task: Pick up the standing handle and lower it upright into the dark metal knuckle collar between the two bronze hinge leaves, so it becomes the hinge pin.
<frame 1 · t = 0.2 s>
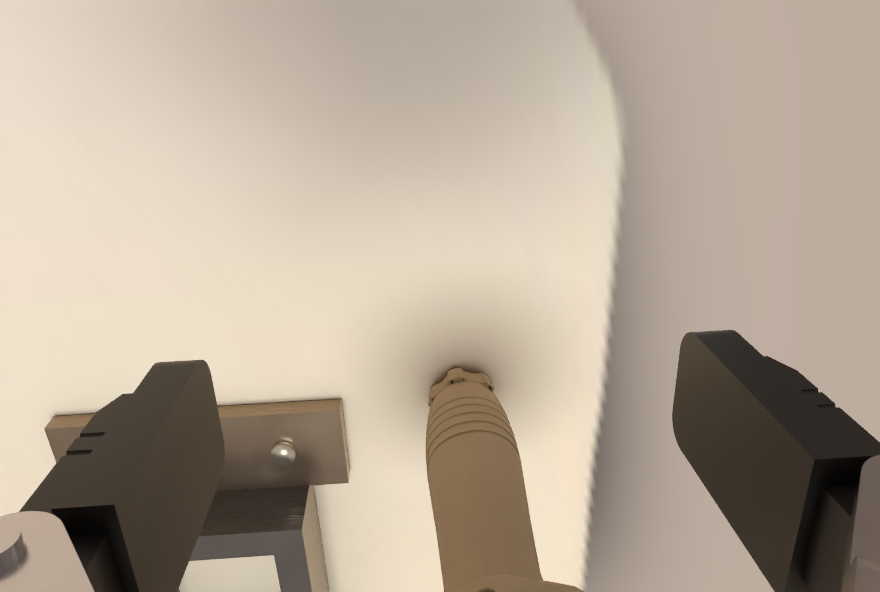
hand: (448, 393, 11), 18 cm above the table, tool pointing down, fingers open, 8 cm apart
handle: (461, 389, 33), on the table
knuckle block: (233, 555, 36), on the table
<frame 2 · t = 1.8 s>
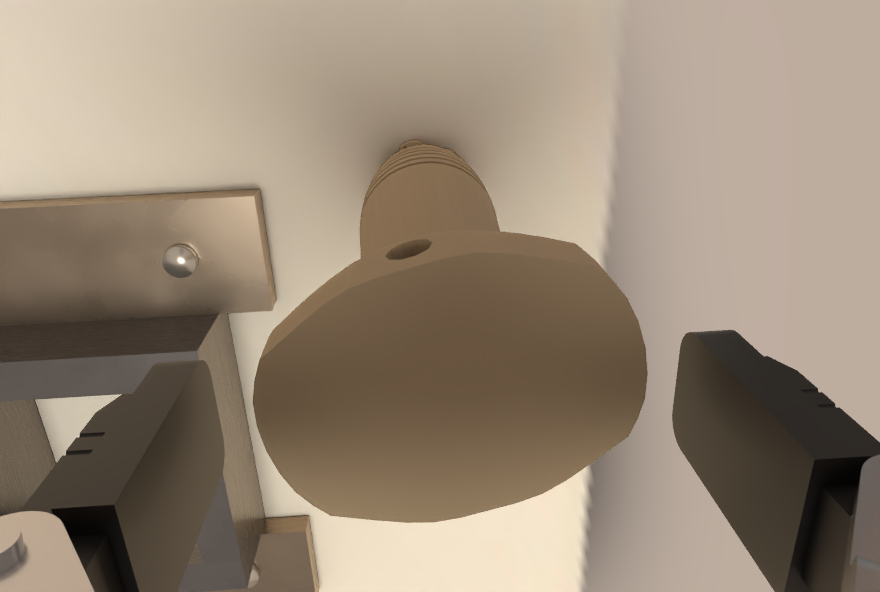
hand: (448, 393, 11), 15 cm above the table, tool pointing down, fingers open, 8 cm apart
handle: (421, 179, 25), on the table
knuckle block: (128, 426, 28), on the table
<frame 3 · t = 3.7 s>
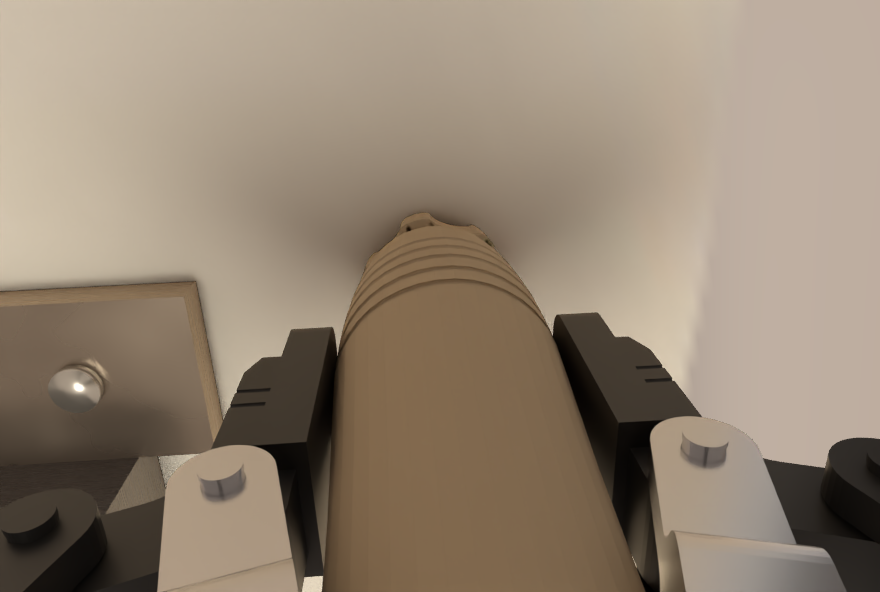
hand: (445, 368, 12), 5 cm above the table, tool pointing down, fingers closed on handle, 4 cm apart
handle: (431, 265, 17), on the table, touching gripper
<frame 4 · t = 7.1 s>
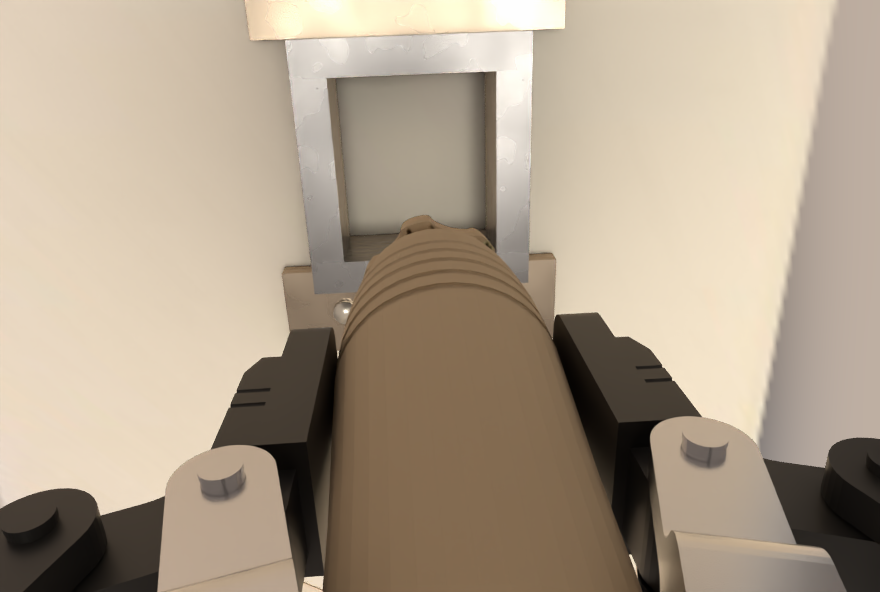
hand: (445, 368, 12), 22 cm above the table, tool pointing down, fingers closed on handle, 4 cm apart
handle: (432, 268, 17), point 16 cm above the table, touching gripper
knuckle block: (414, 154, 32), on the table
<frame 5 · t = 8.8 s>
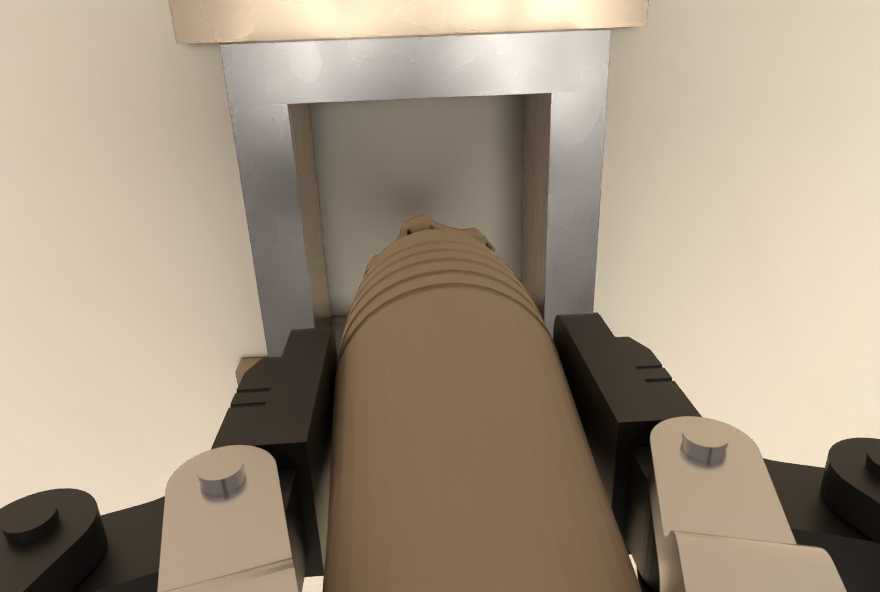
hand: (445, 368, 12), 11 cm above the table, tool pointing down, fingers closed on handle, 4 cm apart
handle: (432, 268, 17), point 6 cm above the table, touching gripper
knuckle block: (422, 206, 22), on the table
when the fingers open (7 cm above the table, at t = 10.5 s): handle drops 2 cm, resting in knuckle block.
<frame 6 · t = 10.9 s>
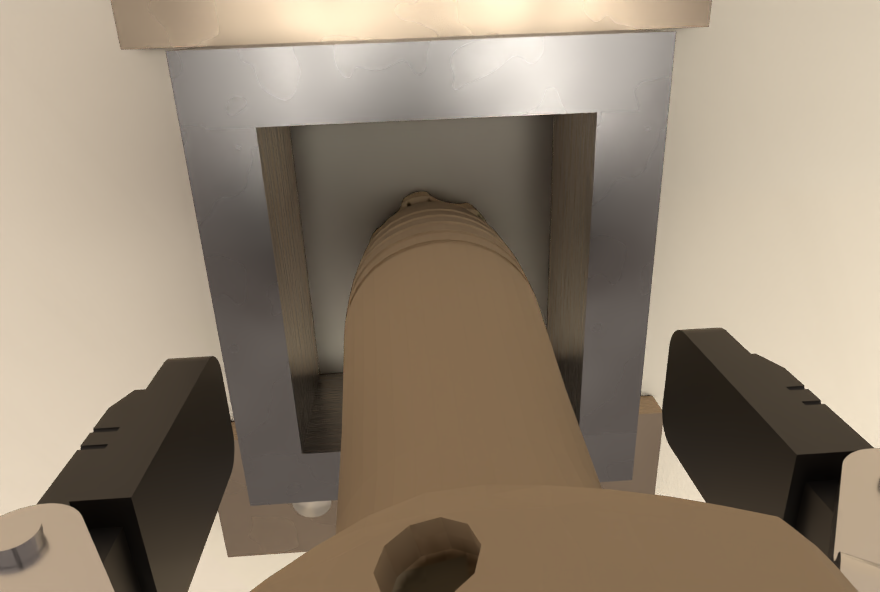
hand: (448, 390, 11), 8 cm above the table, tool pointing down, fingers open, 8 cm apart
handle: (429, 240, 19), resting in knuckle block
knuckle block: (428, 244, 19), on the table
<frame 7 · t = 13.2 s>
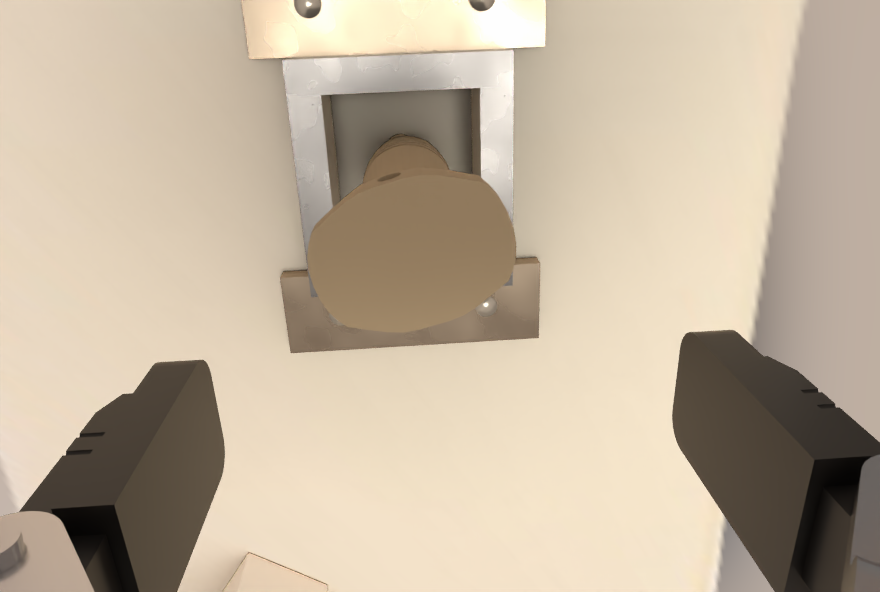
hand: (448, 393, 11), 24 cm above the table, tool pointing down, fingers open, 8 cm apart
handle: (406, 163, 34), resting in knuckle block
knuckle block: (405, 164, 34), on the table
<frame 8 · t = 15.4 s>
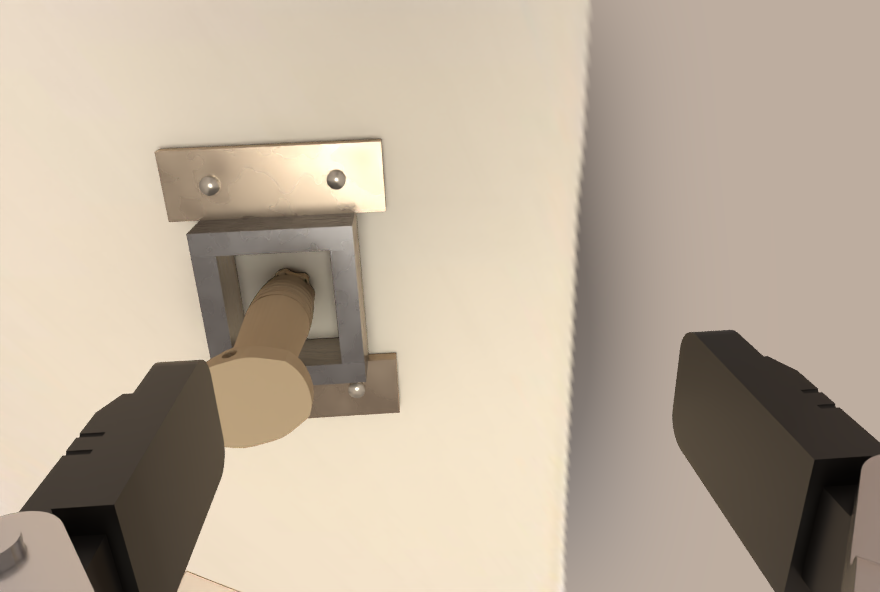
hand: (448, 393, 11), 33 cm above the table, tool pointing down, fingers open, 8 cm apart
handle: (292, 287, 46), resting in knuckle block
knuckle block: (290, 288, 45), on the table
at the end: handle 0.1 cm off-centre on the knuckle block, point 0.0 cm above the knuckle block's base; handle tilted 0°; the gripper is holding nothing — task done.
